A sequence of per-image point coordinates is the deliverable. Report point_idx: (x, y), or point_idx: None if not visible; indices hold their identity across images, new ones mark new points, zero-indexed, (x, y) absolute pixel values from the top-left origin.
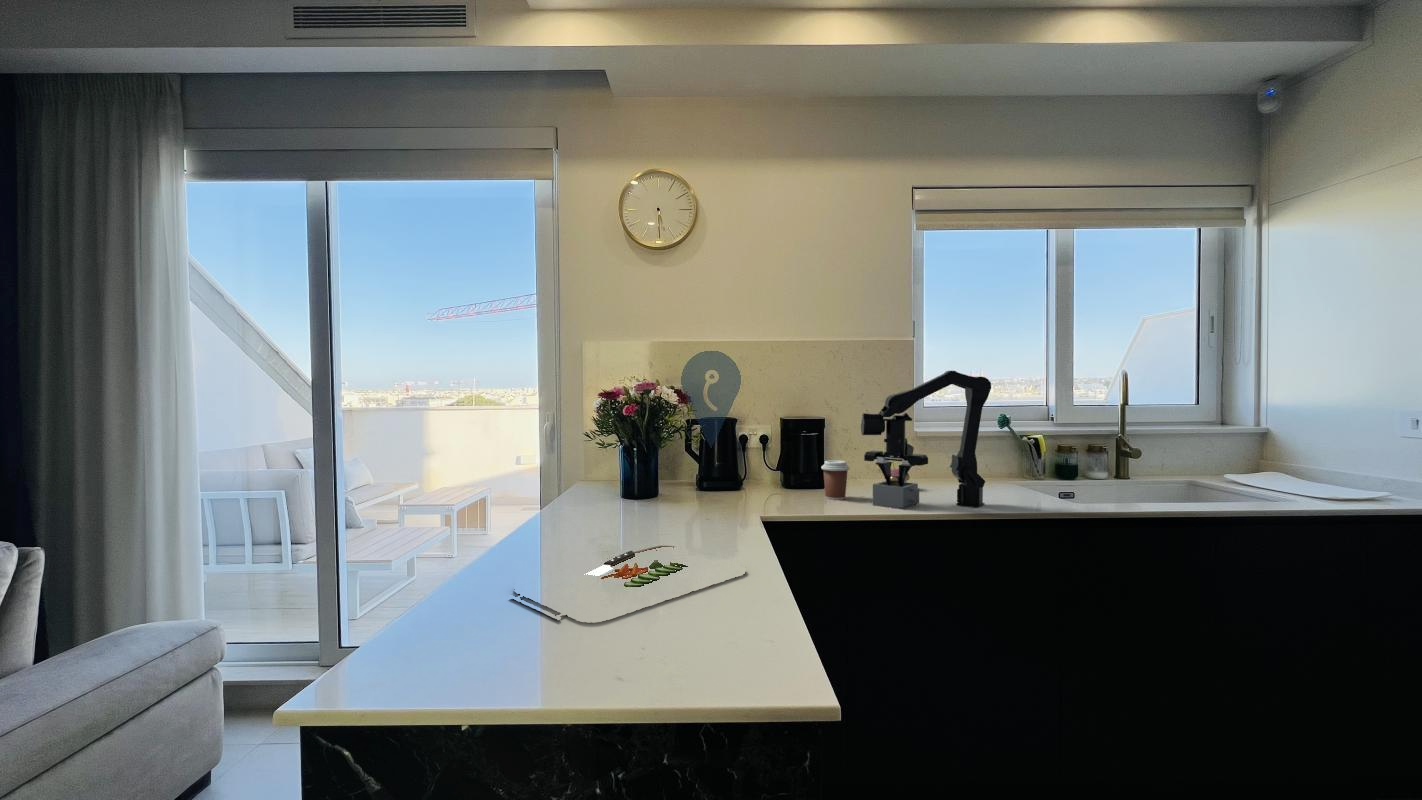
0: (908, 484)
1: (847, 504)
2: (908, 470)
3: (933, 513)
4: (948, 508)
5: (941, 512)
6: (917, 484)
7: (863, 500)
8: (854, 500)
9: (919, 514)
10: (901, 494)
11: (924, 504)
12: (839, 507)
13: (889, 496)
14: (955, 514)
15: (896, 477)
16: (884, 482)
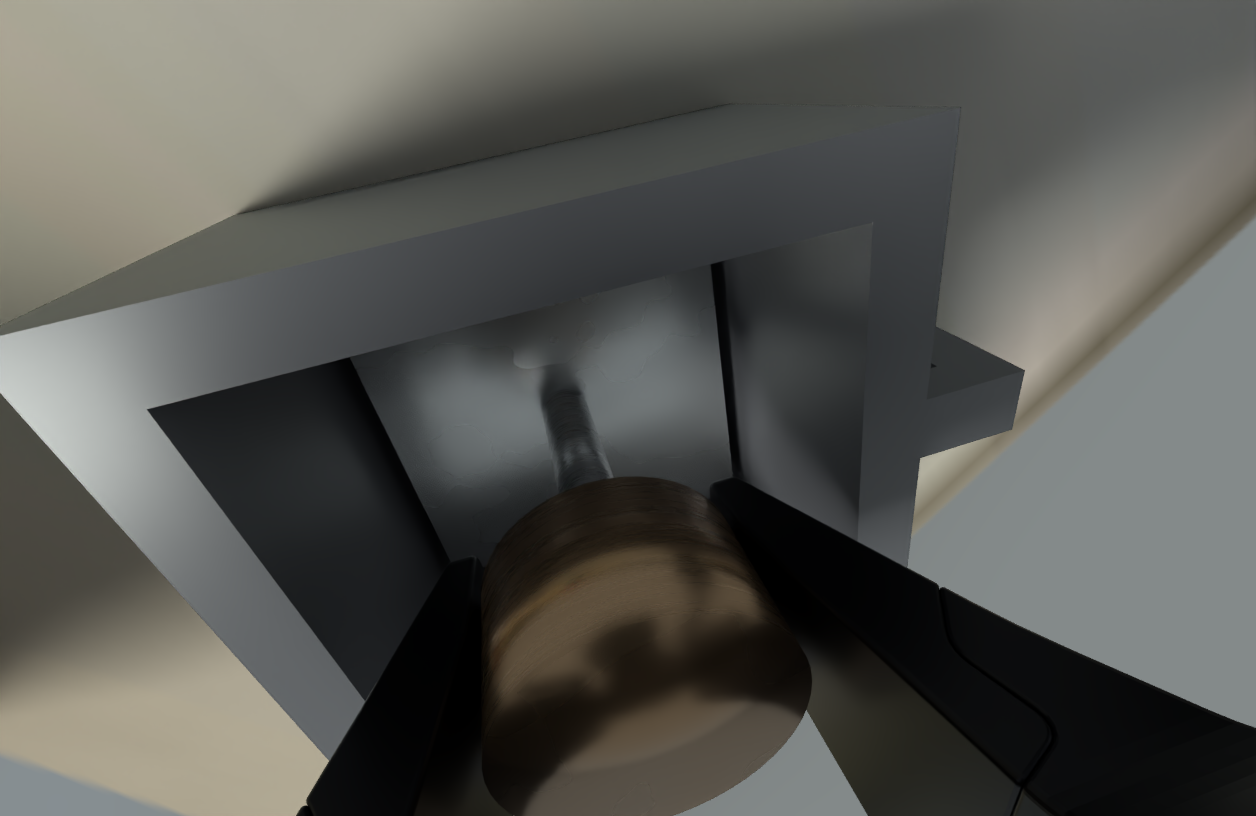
0: (733, 247)
1: (257, 727)
2: (1176, 723)
3: (1025, 382)
4: (1127, 3)
5: (1080, 287)
6: (939, 118)
7: (75, 498)
8: (30, 584)
9: (940, 498)
10: None
11: (798, 6)
12: None
13: None
14: (1199, 256)
15: (748, 746)
16: (301, 611)
